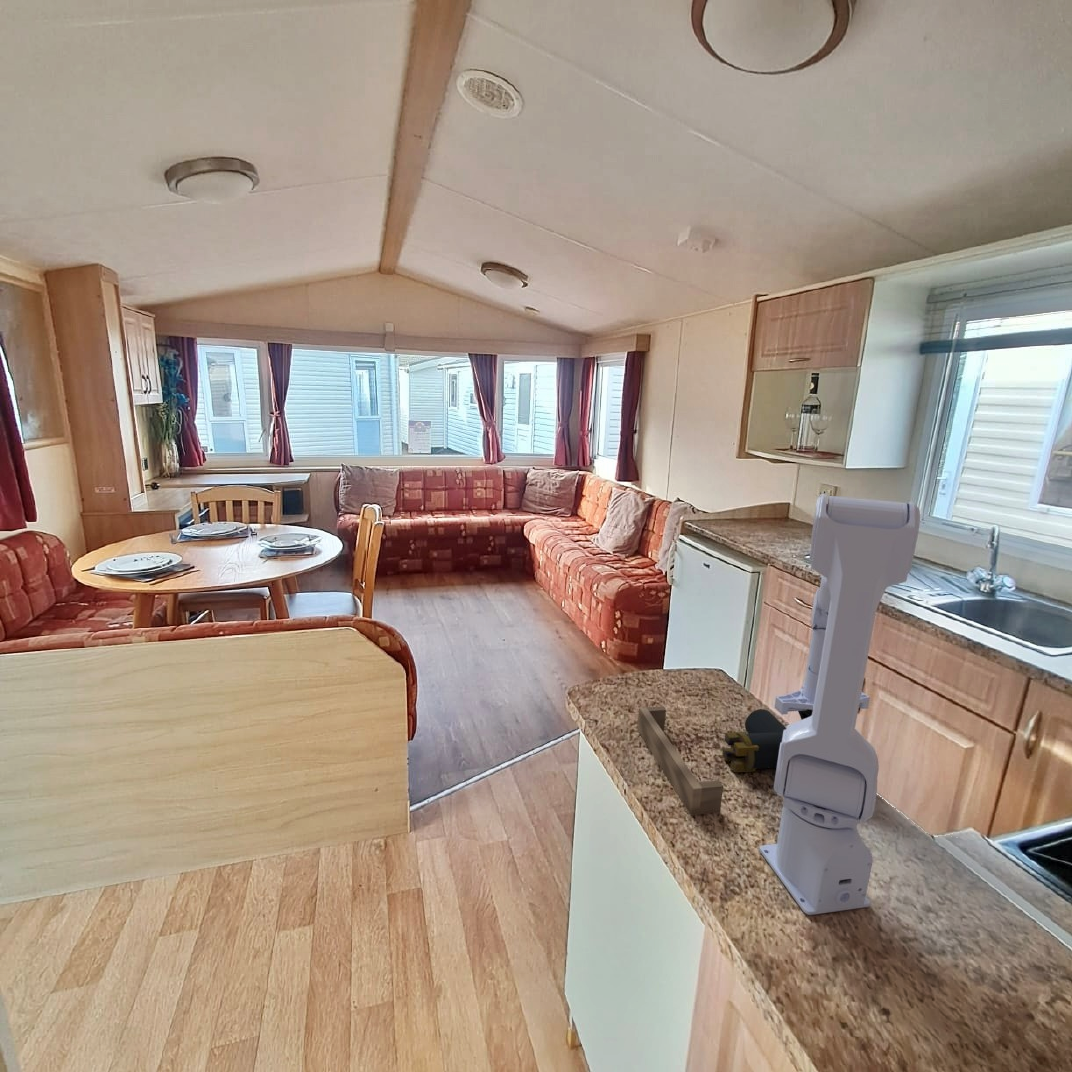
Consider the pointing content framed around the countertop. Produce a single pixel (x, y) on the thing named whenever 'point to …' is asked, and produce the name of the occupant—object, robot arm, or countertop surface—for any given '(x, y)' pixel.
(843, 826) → the robot arm
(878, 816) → the countertop surface
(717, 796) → the stop rail
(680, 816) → the countertop surface
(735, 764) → the pipe connector
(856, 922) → the countertop surface
